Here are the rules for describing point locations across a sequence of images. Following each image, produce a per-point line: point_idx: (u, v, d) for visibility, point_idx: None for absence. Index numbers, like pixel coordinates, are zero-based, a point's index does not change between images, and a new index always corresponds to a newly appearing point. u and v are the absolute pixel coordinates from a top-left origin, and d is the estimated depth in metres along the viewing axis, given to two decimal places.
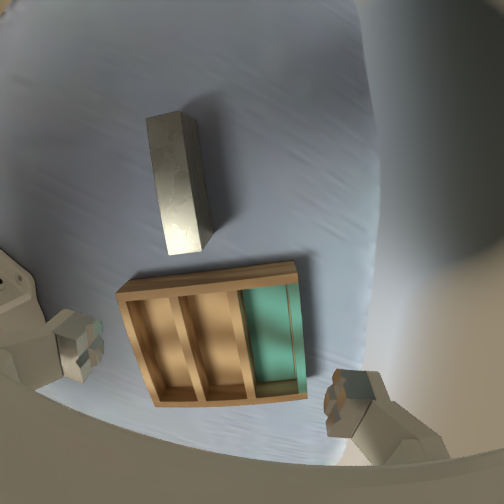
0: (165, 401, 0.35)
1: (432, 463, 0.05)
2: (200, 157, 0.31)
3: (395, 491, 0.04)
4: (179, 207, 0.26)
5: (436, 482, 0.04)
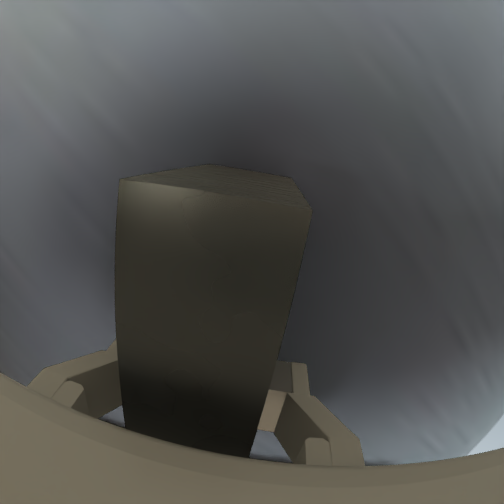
0: None
1: (432, 463, 0.05)
2: None
3: (395, 491, 0.04)
4: None
5: (436, 482, 0.04)
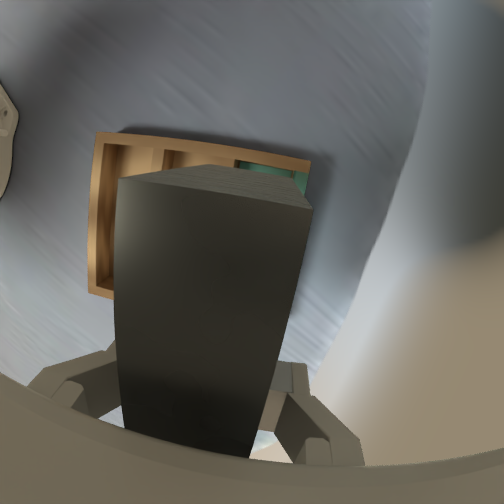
0: (101, 287, 0.29)
1: (432, 463, 0.05)
2: None
3: (395, 491, 0.04)
4: None
5: (436, 482, 0.04)
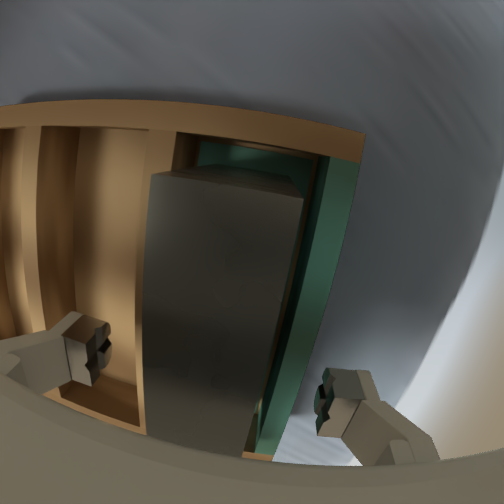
0: None
1: (432, 463, 0.05)
2: None
3: (395, 491, 0.04)
4: None
5: (436, 482, 0.04)
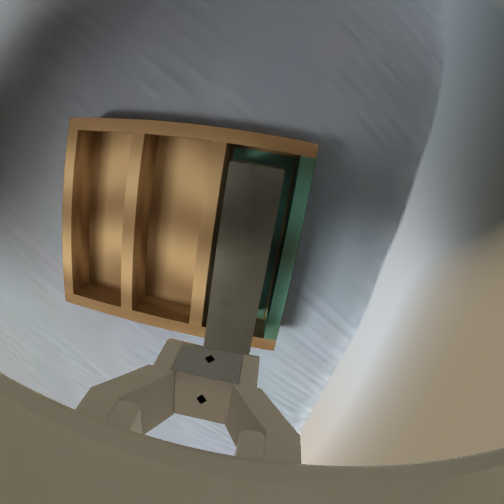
0: (79, 295, 0.25)
1: (432, 463, 0.05)
2: None
3: (395, 491, 0.04)
4: (238, 302, 0.19)
5: (436, 482, 0.04)
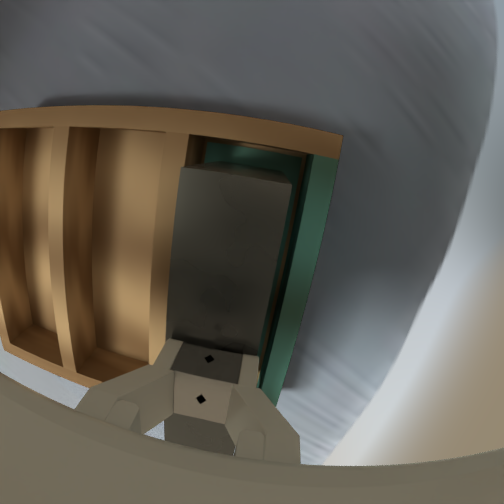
0: (16, 346, 0.16)
1: (432, 463, 0.05)
2: None
3: (395, 491, 0.04)
4: None
5: (436, 482, 0.04)
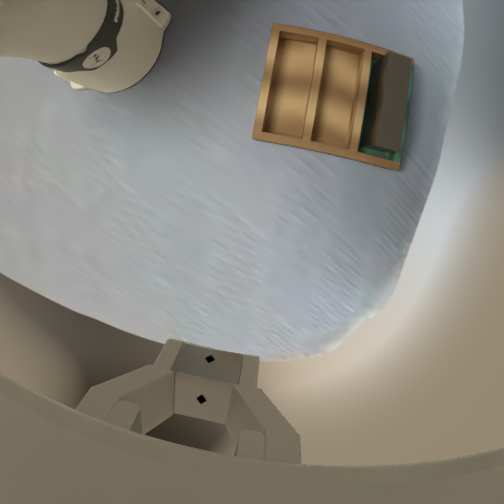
0: (267, 132, 0.37)
1: (432, 463, 0.05)
2: None
3: (395, 491, 0.04)
4: (395, 117, 0.31)
5: (436, 482, 0.04)
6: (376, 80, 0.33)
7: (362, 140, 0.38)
